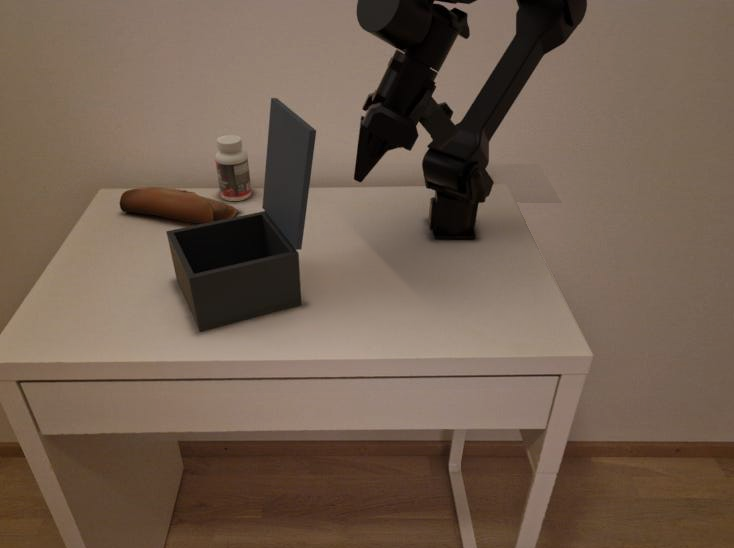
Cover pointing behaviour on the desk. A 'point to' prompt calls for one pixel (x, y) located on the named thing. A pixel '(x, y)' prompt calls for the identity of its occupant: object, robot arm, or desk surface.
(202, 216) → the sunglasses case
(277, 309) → the desk case
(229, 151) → the pill bottle
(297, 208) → the cover
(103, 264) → the desk surface
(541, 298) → the desk surface
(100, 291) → the desk surface
